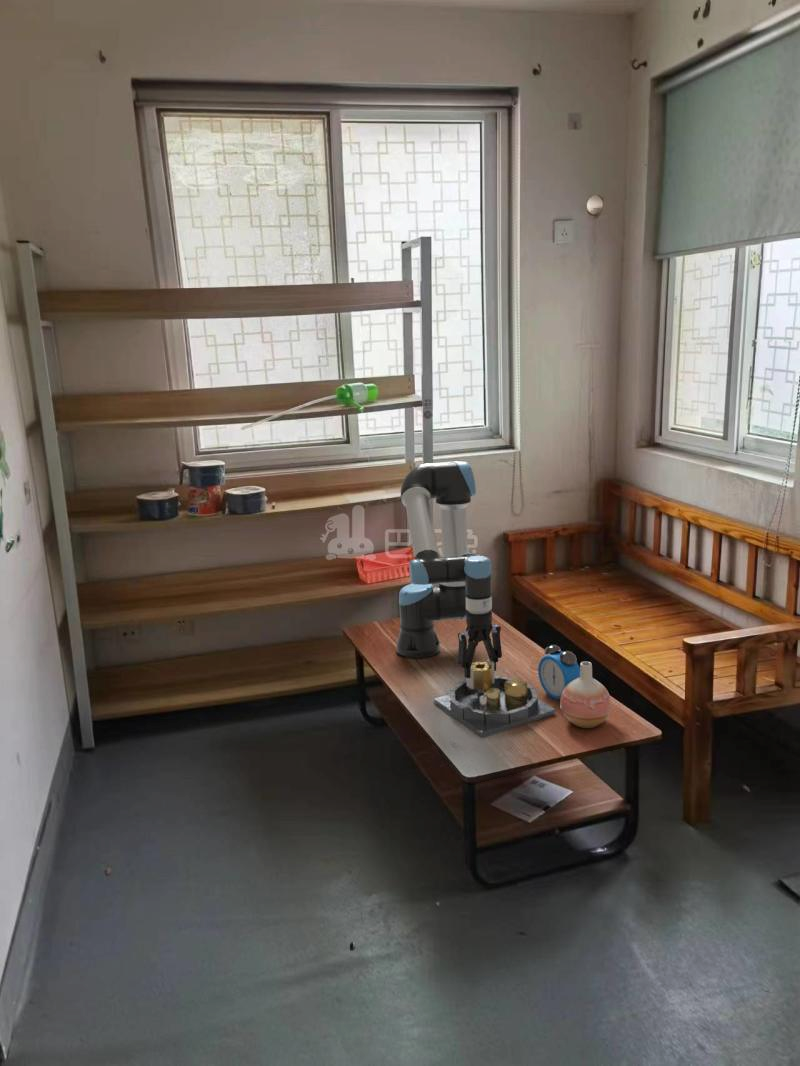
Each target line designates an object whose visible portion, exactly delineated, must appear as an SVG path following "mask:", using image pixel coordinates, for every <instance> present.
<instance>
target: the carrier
mask: <svg viewBox="0 0 800 1066" xmlns="http://www.w3.org/2000/svg"><path fill="white" fill-rule="evenodd" d="M433 703H434V705H436V706H437V707H439V708H440V709H442V710H443V711H444V712H446V713H447V714H449V715H450V716H451V717H453V718H454V719H456V721H457V722H459V723H461V724H462V725H464V727H466V728H467V729H469V730H470V731H472V732H473V733H474V734H476V736H478V737H480V738H485V737H489V736H492V735H495V734H498V733H501V732H504V731H507V730H510V729H514V728H517V727H521V726H522V725H527V724H530V723H532V722H536V721H539V720H542V719H545V718H548V717H551V716H555V715H557V714H556V712H557V711H556V708H554V707H552V706H550V705H549V704H547V703H546V702H544V701H542V700H541V699H539V696H538V693H537V691H536V688H535V687H534V686H532V685H531V684H529V683H527V681H525V680H523V679H518V678H511V677H506V676H500V675H498V676H497V675H494V683H493V685H492V687H491V688H489V689H486V690H474V689H471V688H469V687H467V679H465V680H461V681H459V682H458V683H457V684H456V685H455V686H453V687H452V688H451V689H450V690H449V693H448V694H445V695H442V696H438V697H435V698H434V699H433Z"/></svg>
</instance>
